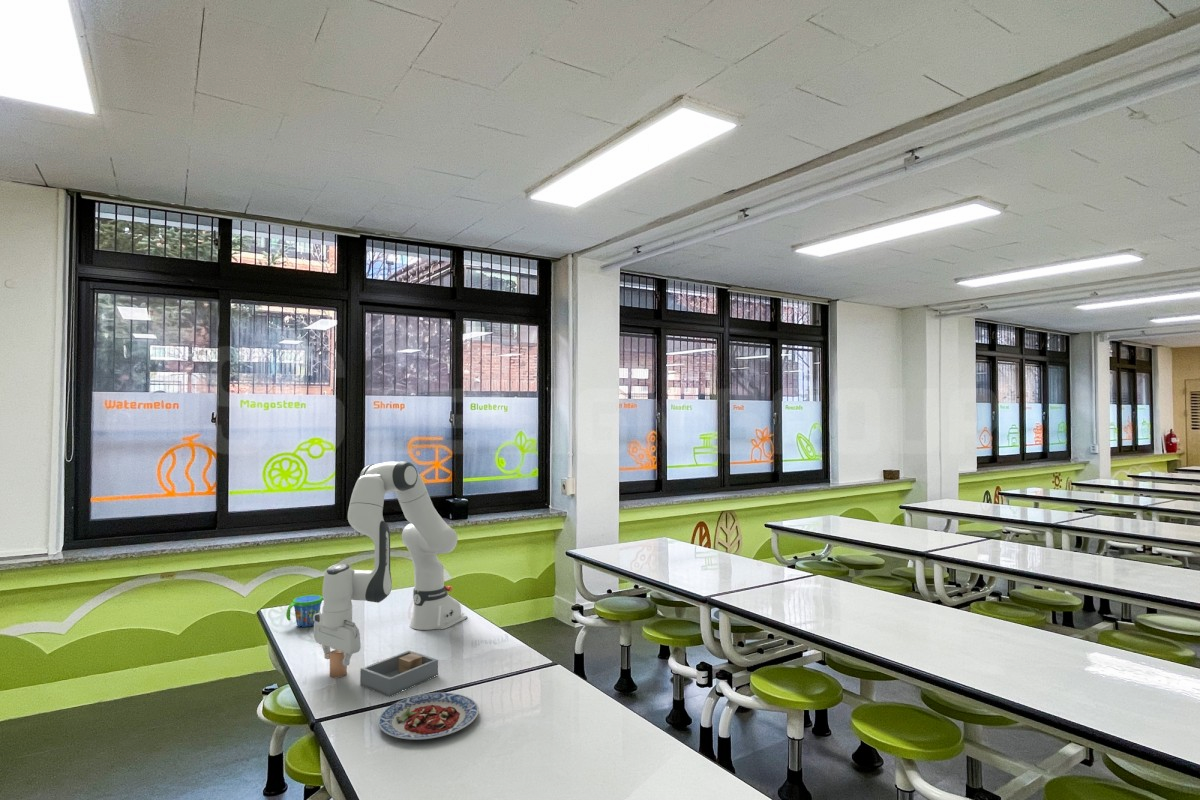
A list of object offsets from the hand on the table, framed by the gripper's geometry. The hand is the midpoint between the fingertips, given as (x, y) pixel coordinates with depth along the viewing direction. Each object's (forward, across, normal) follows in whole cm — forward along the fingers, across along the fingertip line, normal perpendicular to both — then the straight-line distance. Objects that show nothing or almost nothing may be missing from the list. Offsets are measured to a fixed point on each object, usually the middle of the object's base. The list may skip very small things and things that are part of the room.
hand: (336, 661), depth 202 cm
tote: (+4, -20, -8) cm, 22 cm away
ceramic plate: (+4, -48, +3) cm, 49 cm away
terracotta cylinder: (+4, 0, 0) cm, 4 cm away
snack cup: (+4, +53, -21) cm, 57 cm away
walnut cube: (+3, -20, -12) cm, 24 cm away
